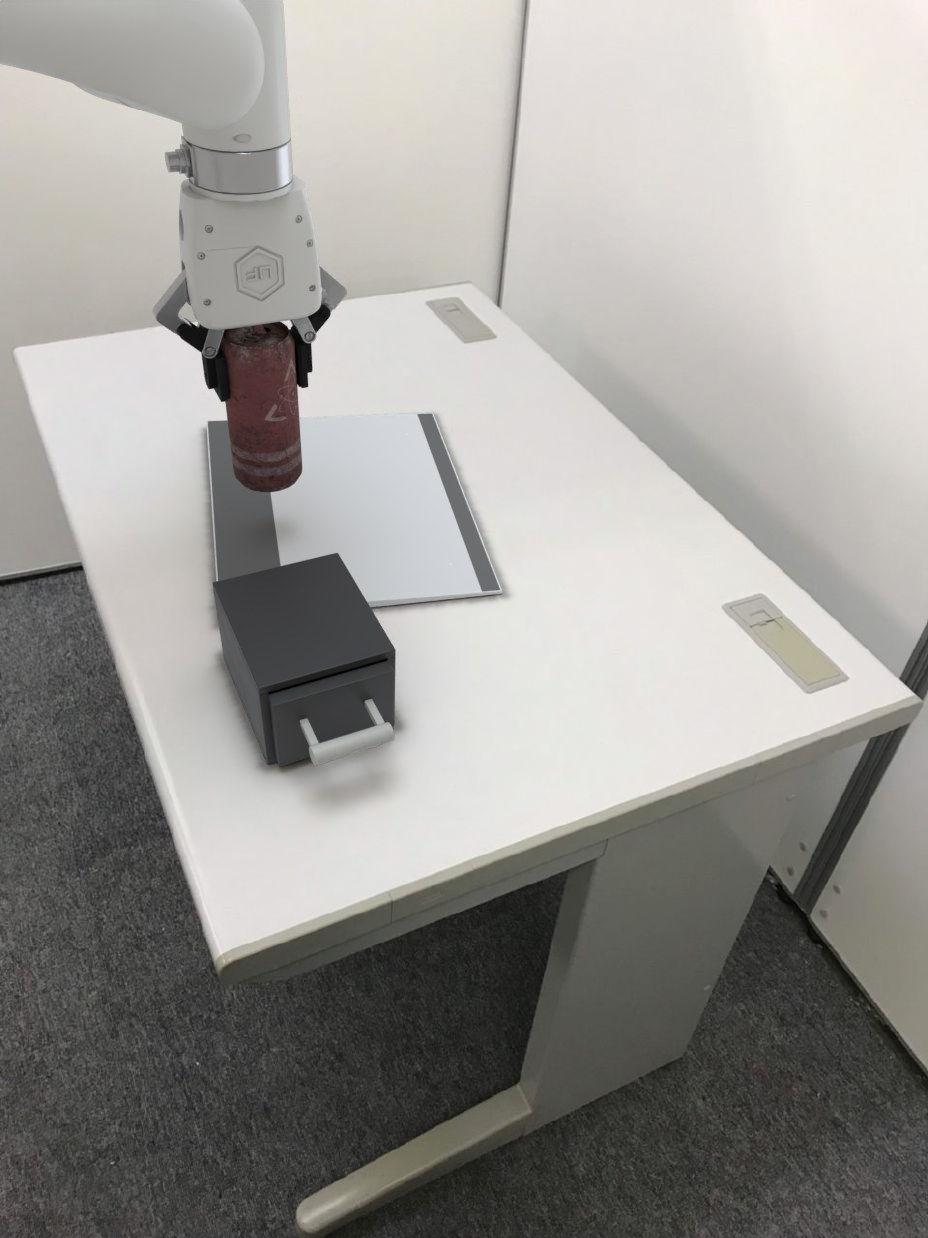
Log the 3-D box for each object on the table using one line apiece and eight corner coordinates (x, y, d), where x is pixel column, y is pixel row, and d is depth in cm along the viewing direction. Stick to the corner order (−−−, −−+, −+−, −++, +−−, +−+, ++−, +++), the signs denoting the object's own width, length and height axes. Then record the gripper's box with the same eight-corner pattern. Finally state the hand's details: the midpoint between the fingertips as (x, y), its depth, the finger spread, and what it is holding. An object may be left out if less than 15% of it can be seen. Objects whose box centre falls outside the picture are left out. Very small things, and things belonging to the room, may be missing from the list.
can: (293, 451, 91) (283, 309, 82) (309, 488, 87) (301, 342, 77) (228, 460, 89) (210, 316, 80) (241, 499, 85) (224, 351, 76)
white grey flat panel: (501, 593, 89) (503, 583, 89) (219, 623, 84) (218, 613, 83) (432, 414, 112) (433, 405, 111) (207, 429, 107) (206, 420, 106)
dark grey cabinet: (394, 725, 77) (396, 649, 71) (267, 765, 73) (258, 688, 68) (340, 627, 85) (337, 551, 79) (223, 658, 81) (212, 582, 76)
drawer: (414, 768, 73) (416, 708, 68) (296, 807, 70) (290, 746, 65) (342, 637, 83) (340, 577, 78) (236, 666, 80) (228, 605, 75)
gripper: (128, 192, 65) (168, 427, 77) (370, 170, 71) (371, 391, 83) (107, 156, 69) (147, 383, 82) (335, 139, 76) (341, 352, 88)
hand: (260, 385), depth 82 cm, fingers closed on can, 6 cm apart
